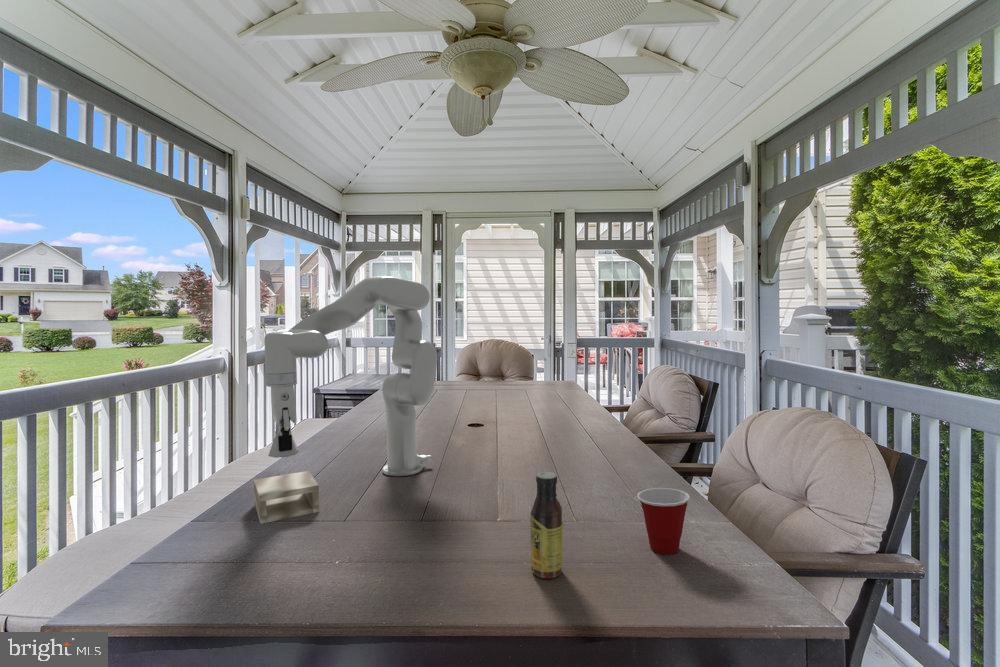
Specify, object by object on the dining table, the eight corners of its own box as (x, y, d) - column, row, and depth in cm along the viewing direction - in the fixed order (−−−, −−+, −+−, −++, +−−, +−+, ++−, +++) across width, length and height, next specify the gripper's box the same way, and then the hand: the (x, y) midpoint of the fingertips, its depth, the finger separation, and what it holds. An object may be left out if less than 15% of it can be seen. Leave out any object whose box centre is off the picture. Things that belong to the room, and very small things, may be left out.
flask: (288, 459, 132) (286, 420, 132) (262, 458, 134) (261, 419, 133) (304, 451, 139) (303, 414, 139) (280, 450, 141) (278, 413, 140)
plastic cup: (649, 533, 119) (649, 481, 118) (697, 546, 112) (697, 492, 112) (628, 550, 111) (628, 495, 110) (678, 566, 104) (678, 507, 103)
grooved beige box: (309, 495, 147) (308, 470, 146) (319, 511, 135) (318, 485, 134) (254, 505, 140) (253, 479, 139) (260, 523, 128) (259, 495, 127)
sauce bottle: (528, 565, 105) (527, 469, 104) (559, 563, 106) (558, 467, 105) (533, 582, 99) (532, 480, 98) (566, 580, 99) (565, 478, 98)
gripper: (302, 382, 130) (304, 453, 131) (291, 374, 145) (293, 439, 146) (269, 384, 126) (272, 458, 127) (262, 376, 141) (264, 442, 142)
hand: (283, 447), depth 136 cm, fingers closed on flask, 5 cm apart
